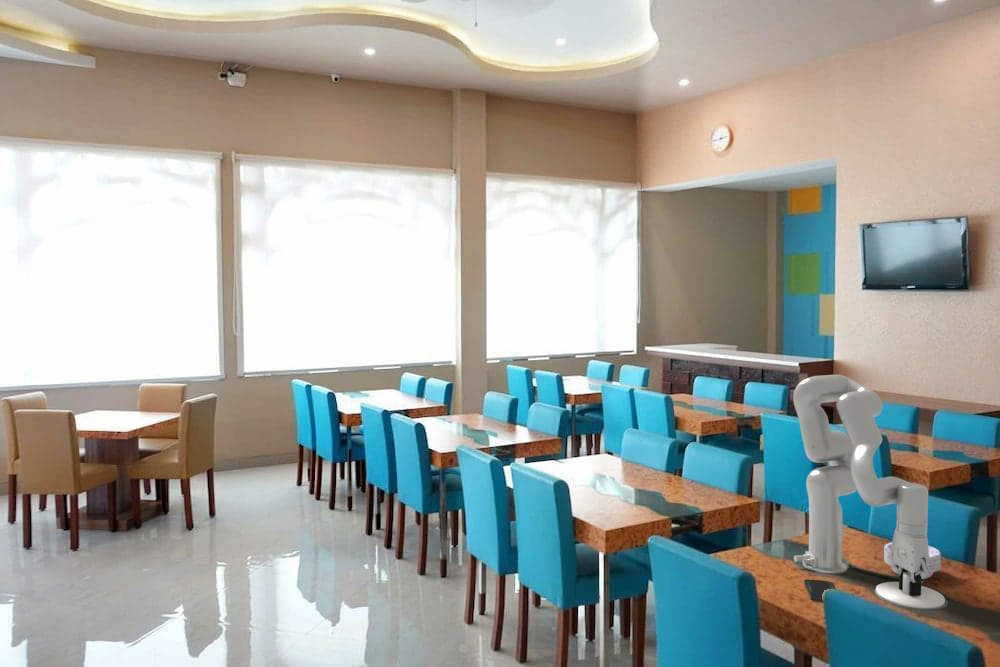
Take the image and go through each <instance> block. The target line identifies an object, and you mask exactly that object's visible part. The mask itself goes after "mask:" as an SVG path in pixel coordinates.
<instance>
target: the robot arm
mask: <svg viewBox="0 0 1000 667" xmlns="http://www.w3.org/2000/svg"><path fill="white" fill-rule="evenodd" d="M834 402H836V406H835V407H836V410H837V413H838V415H839V418H840V420H841V422H842V425H843V427H844V430H845V432H846V433H845V432H844V431H842V430H839V429H831V428H830V423H829V418H828V415H827V412H826V411H825V410H824V408H823V407H822V406H821V405H822V404H823V403H834ZM793 406H794V410H795V412H796V415H797V418H798V421H799V427H800V433H801V438H802V442H803V447H804V448H803V449H804V452H805V455H806V457H807V459H809V461H811V462H813V463H817V464H818V463H819V464H820V463H822V464H823V463H828V462H829V465H826V466H821V467H816V468H814V469H812V471H810V472H809V474H808V475H807V477H806V481H805V485H806V492H807V497H808V506H809V508H808V512H809V513H808V517H809V518H808V550H805V553H804V554H802V555H799V554H797V555H794V556H793V561H794V562H795V563H798V562H800V563H801V562H802V564H803V567H804V568H805V569H807V570H809V571H813V572H816V573H817V572H818V573H823V574H843V573H845V572H847V570H848V565H847V564H845V563H844V562H843V561H842V560H843V555H842V554H843V552H842V551H843V508H842V506H841V503H840V501H839V497H841V496H847V495H851V494H854V493H856V491H857V493H858V494H859V496H860V497H861V499H862V500H863V502H864V503H865V504H866V505H868V506H871V507H877V508H878V507H884V506H887V505H894V504H895V505H896V527H895V530H894V533H893V538H892V541H891V543H892V553H891V560H892V561H893V563H895V564H896V566H897V569H898V574H897V575H898V578H899V579H898V582H899V589H900V590H903V572H911V581H910V583H909V595H910V596H920V595H921V586H922V583H924V580H925V579H929V578H930V577H929V573H928V568H929V548H928V546H929V540H928V512H929V511H928V509H929V489H928V488H927V486H925V485H923V484H921V483H915V482H909V481H907V480H904V479H902V478H900V477H897V476H886V477H880V478H878V477H877V475H876V472H875V469H874V460H873V458H874V456H875V452H876V451H877V450H878V447H879V446H881V444H882V442H883V437H882V435H881V432H880V430H879V428H878V424H877V423H876V421H875V417H878V416H879V415H880V414H881V413H882V411H883V402H882V399H881V397H880V396H879V395H878V394H877V393H876V391H875V392H874V390H872V389H870V388H869V387H867V386H865V385H863V384H861V383H859V382H858V381H855V380H854V379H852V378H850V377H848V376H846V375H842V374H825V375H813V376H810V377H807V378H804V379H803V380H801V381H800V382H799V383H798V384H797V385H796V387H795V389H794V391H793ZM915 573H918V575H917V576H915Z"/></svg>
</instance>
